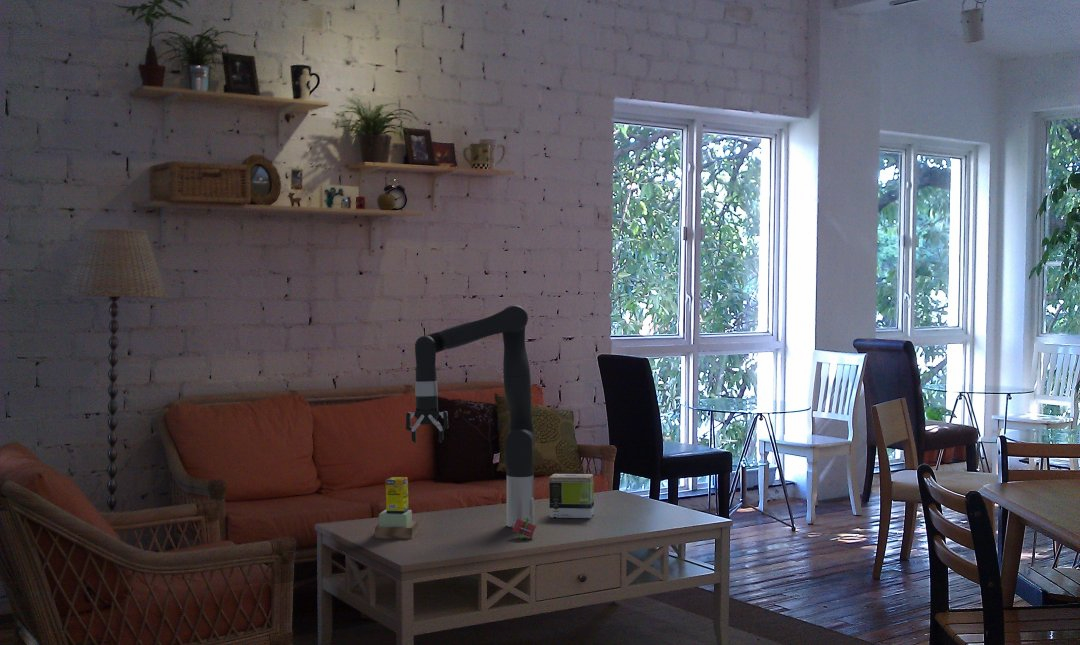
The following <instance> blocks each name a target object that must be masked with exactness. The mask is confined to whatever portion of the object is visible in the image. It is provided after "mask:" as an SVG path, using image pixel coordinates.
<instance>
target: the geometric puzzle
mask: <svg viewBox="0 0 1080 645" xmlns="http://www.w3.org/2000/svg"><path fill="white" fill-rule="evenodd" d="M524 520H526V522H524V521H522V520H519V519H516V521H514V523H513V527H514V528H513V527H512V532H513V533H514V534H515V535H517V534H518V535H519V538H520V540H523V539H528V538H529V539H532V538H533V536H534V533H535V530H536V528H537V525H536V524H535V523H534V525H533V524H530V522H529V523H528V521H529V519H528V518H527V519H524ZM532 523H533V522H532Z"/></svg>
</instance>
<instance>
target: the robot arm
mask: <svg viewBox="0 0 1080 645" xmlns="http://www.w3.org/2000/svg"><path fill="white" fill-rule="evenodd" d="M528 321H529V317H528V314H527V311H526V310H525V308H523V307H522V306H520V305H517V304H513V305H509V306H507V307H505V308H504V309H502V310H501V311H499V312H496V313H495V314H493V315H490V316H486V317H484V318H481V319H477V320H473V321H470V322H464V323H461V324H458V325H454V326H451V327H448V328H445V329H443V330H441V331H436V332H433V333H428V334H425V335H422V336H420V337H418V338H417V339H416V341H415V344H414V352H415V353H414V354H415V364H416V365H415V385H414V386H415V388H414V390H415V391H414V394H415V395H414V396H415V411H414V412H410V411H408V412H407V413H406V416H405V418H406V419H405V430H406V431H409V432H411V441H412V442H413V444H417V442H418V440H417V439H418V438H417V437H418V436H417V434H418V433H417V429H418V428H419V426H420V425H422V426H424V425H429V426H430V425H434V426H435V427H436V428H437V429H438V443H442V441H443V440H444V432H445V430H447V429H449V426H450V425H449V414H448V411H447V410H444V411H440V410H439V397H438V396H439V394H438V392H439V390H438V382H437V381H438V379H437V378H438V377H437V366H436V362H437V361H436V359H437V353H440V352H442V351H445V350H450V349H455V348H458V347H461V346H462V347H463V346H465V345H469V344H471V343H473V342H474V343H475V342H476V341H478V340H481V339H484V338H487V337H490V336H491V337H492V336H494V335H498V334H501V335H502V340H503V363H502V364H503V365H502V368H503V371H502V372H503V373H502V374H503V388H504V389H503V390H504V396H505V399H506V403H507V406H508V410H509V417H510V418H509V419H510V422H509V423H510V424H509V425H510V426H509V427H510V428H509V433H508V434H507V435H506V438H505V440H504V441H505V442H504V452H505V454H504V455H505V456H504V457H505V461H504V462H505V469H506V527H509V528H512V529H513V528H514V527H513V523H514V521H516V519H519V520H522V521H524V522H526V520H524V519H527V518H528V519H529V521H528V523H529V522H530V524H533V525H534V524H535V494H534V493H535V492H534V489H535V488H534V486H535V485H534V484H535V483H534V481H535V480H534V476H535V475H534V470H535V469H534V465H533V449H534V446H535V443H536V438H535V432H534V427H533V420H532V409H531V408H532V382H531V380H532V379H531V370H530V369H531V368H530V363H529V359H528V354H527V349H526V326H527V323H528ZM440 416H441V417H440ZM414 417H415V419H417V421H416V422H415V423H414V425H413V426H411V425H412V424H411V423H412V421H411V420H412V419H413V418H414ZM439 417H440V418H441V419H443V426H442V424H441V423H440V422H439V420H438V418H439ZM532 522H533V523H532Z"/></svg>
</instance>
